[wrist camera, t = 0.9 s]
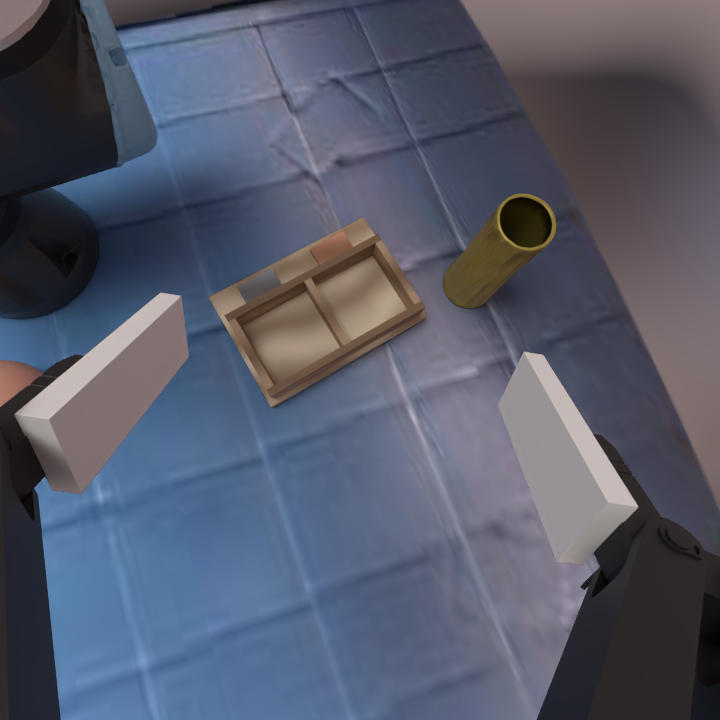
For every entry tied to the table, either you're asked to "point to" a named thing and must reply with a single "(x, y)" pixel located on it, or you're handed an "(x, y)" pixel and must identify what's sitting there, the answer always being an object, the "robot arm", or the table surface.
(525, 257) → the vase
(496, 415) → the table surface
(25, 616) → the robot arm
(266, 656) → the table surface
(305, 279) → the tray
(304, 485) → the table surface
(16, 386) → the toy ball
